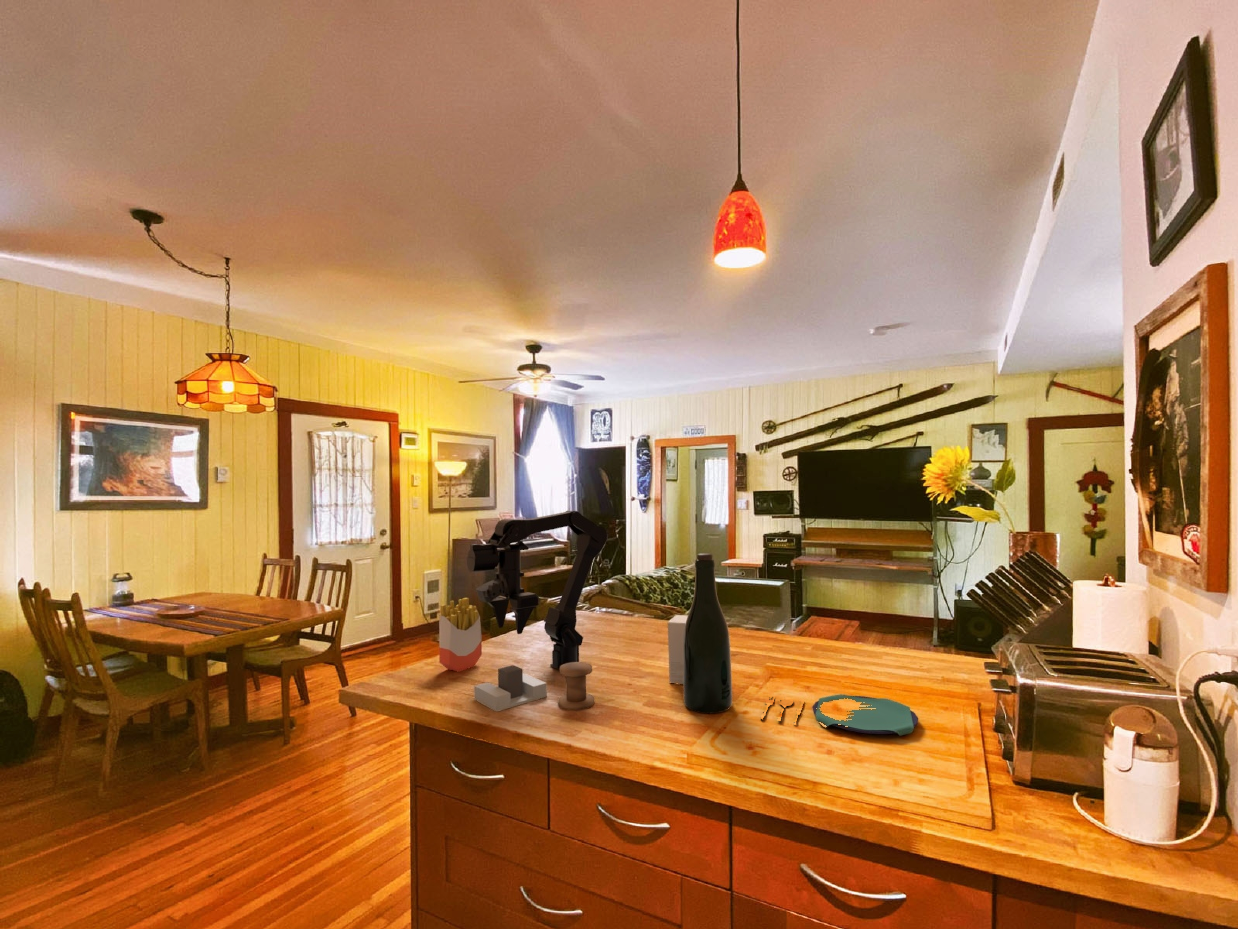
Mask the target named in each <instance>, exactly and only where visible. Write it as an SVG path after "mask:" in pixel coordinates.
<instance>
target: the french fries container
mask: <svg viewBox="0 0 1238 929" xmlns="http://www.w3.org/2000/svg"><path fill="white" fill-rule="evenodd" d="M449 603H450V605H446V604H440V605H439V606H440V607H439V609H440V614H439V618H438V623H439V624H438V627H439V633H438V634H439V637H438V638H439V640H438V642H439V652H438V656H439V658H438V659H439V664H441V666H443V667H444V668H445V669H447V670H449V671H452V670H453V672H456V671H457V673H459V672H462V671H465V670H468V669H470V668H469V667H471V668H473V667H475V666H476V664H477V663H478V661H479V660H480V658H481V657H482V655H483V654H482V653H483V652H482V647H483V646H482V644H483V642H482V641H483V639H482V626H481V616H480V613H479V611H478V609H477V605H472V604H470V598H469V597H463V598H462V599H461V598H460V599H458V604H456V605H455V601H454V600H450V601H449ZM467 668H468V669H467ZM458 671H459V672H458Z"/></svg>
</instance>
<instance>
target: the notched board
mask: <svg viewBox="0 0 1238 929" xmlns="http://www.w3.org/2000/svg"><path fill="white" fill-rule="evenodd" d="M473 686H474V688H473V690H474V698H473V699H475V701H476V700H477V701H476V702H478V703H480V702H481V704H482V705H483V706H485V705H486V707H487V708H489V709H490V710H492V709H493V711H494V712H496V713H497V712H500V711H504V710H506V709H509V708H510V709H511V708H513V707H518V706H520V705H523V704H527V703H530V702H533V701H537V700H540V698H541V699H543V698H546V697H548V696H547V695H548V694H547V693H548V690H547V688H548V687H547V686H548V684H547V682H545V681H544V680H541V679H538V678H537V677H534V676H531V675H530V674H526V673H524V672H523V695H522V696H519V697H516V698H512V699H511V694H510V693H509V692H507V691H505V690H503V689H501V688H499V687H498V685H495V684H493V683H490V682H483V683H479V684H476V685H473Z"/></svg>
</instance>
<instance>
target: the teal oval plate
mask: <svg viewBox="0 0 1238 929" xmlns="http://www.w3.org/2000/svg"><path fill="white" fill-rule="evenodd" d="M844 698H845V699H847V698H848V699H852V700H855V701H856V702H862V703H861V704H860V705H870V706H868V707H867V706H866V707H859V708H876V709H872V710H871V709H861V710H860V709H859V710H852V711H849V712H854V713H850V714H847V715H854V716H851V717H850V716H849V717H848V718H846V719H852V720H848V721H847V720H846V721H844V720H841V721H839V720H835V719H833V718H830V717H828V716H825V715H824V714H822V713H821V712H822V711H820V709H819V708H821V707H820V705H822V704H823V702H829V701H833V700H839V699H844ZM863 702H865V703H863ZM871 705H872V706H871ZM811 708H812V712H813V714H814V716H815V719H816V722H817V721H818V722H821V723H823V724H824V725H826V726H828V727H829V726H833V727H836V728H839V729H842V730H846V731H850V732H856V733H863V734H871V735H872V734H873V735H875V734H876V735H891V734H898V735H899V737H901V736H904V735H909V734H912V732H913V731H914V728H915V727H917V726H918V722H919V717H918V715H917V714H916V713H915V712H914V711H912V710H911V706H908V705H906V704H904V703H901V702H898V701H896V700H892V699H889V698H884V697H883V698H877V697H870V696H866V695H865V696H864V695H849V694H842V693H841V694H833V695H829V696H823V697H820V698H818V700H817V701H815V703H814V704H813V705H812V707H811ZM816 708H817V709H816ZM847 712H848V711H847ZM818 722H817V723H818ZM838 724H841V725H838ZM845 726H848V727H845Z"/></svg>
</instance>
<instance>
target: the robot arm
mask: <svg viewBox="0 0 1238 929" xmlns="http://www.w3.org/2000/svg"><path fill="white" fill-rule="evenodd" d="M566 527H567V528H569V529H570V531H571V532H572V533H573V534H575V536H577V539H576V550H577V551H576V552H577V553H576V557H575V559H574V561H573V564H572V567H571V569H570V572H569V575H568V578H567V581H566V583H565V585H564V588H563V592H562V594H561V597H560V599H559V602H558V604H557V605H556V606H555V607H551V606H549V608H548V609H547V614H546V617H545V618H544V619H543V622H544V630H545V633H546V635H548V636H549V639H550V641H551V642H552V643H553V645H552V648H553V650H552V651H551V654H552V655H551V656H552V657H551V660H552V661H551V663H550V667H552V668H553V669H557V670H559V671H560V666H561V665H563V664H566V663H570V662H580V646H582V643H583V639H584V636H582V634H580V632H579V631H577V630H576V625H577V607H578V604H579V601H580V599H581V596H582V593H583V589H584V587H585V584H586V581H587V579H588V576H589V573H590V572H591V571H590V570H591V568H592V565H593V563H594V560H595V558H596V557H598V555H599V554H600V553H601V552H602V551H603V549H604V547H605V545H606V543H607V541H608V537H609V534H608V533H607V529H606V528H605V527H603V525H602V526H601V525H598V524H597V523H595V522H593V521H592V520H590V519H588V518H587V517H585V516H584V515H583V514H582V513H580V512H579V511H577V510H566V511H563V512H559V513H553V514H548V515H542V516H538V517H537V516H536V517H532V518H504V519H499V521H498V522H496V525H495V527H494V532H492V535H491V536H490V538H489V539H488V540H487V542H486V543H482V544H477V543H471V544H470V545H469V550H468V553H467V557H466V567H467V570H468V571H469V572H470V573H479V572H489V571H494V570H495V569H496V568H497V572H494V574H493V579H492V580H490V581H487V582H486V583H483V584H481V585H480V586H477V588H476V589H475V591H476V593H477V597H478V600H479V601H480V602H484V603H485V604H488V605H489V606H490V607H491V608H492V611H493V614H494V618H495V620H496V623H497V627H498V628H500V629H501V628H504V624H505V621H506V616H507V611H508V608H509V604H510V606H511V607H510V608H509V609H510V610H511V611H512V612H513V613H514V617H515V619H514V620H515V629H516V634H517V635H522V633H523V632H524V629H525V628H526V625H527V623H528V621H529V618H530V616H531V615H532V613H533V611H534V609H537V606H539V605H540V597H539V596H538V594H537V593H533V592H525V588H523V587H522V577H525V572H523V571H522V567H521V566H522V565H521V564H522V563H521V562H522V561H521V560H522V559H521V558H522V557H521V556H522V554H521V552H522V551H528V550H529V548H530V547H529V546H527V545H526V544H525V543H524V541H523V540H525V539H528V538H529V537H531V536H532V535H534V534H537V533H538V534H539V533H543V532H547V531H551V530H556V529H560V528H561V529H562V528H566Z"/></svg>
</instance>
